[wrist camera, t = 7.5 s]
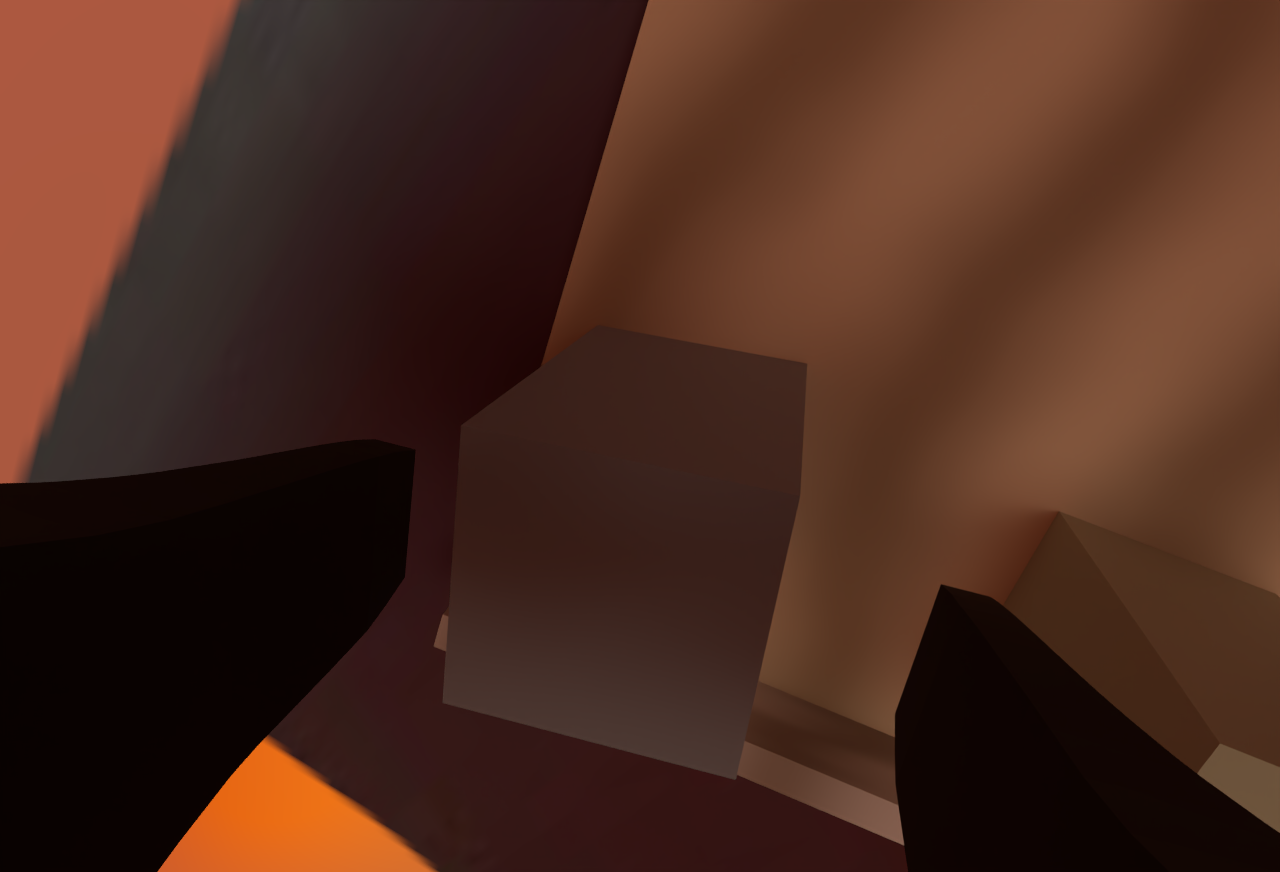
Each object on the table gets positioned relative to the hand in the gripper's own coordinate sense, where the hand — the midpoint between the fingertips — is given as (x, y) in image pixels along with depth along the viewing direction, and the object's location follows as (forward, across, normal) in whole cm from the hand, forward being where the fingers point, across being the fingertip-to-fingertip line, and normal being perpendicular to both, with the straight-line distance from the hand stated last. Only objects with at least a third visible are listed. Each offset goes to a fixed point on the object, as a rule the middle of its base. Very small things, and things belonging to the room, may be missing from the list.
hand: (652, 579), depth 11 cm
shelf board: (+10, -5, -2) cm, 12 cm away
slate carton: (+9, +1, +1) cm, 9 cm away
